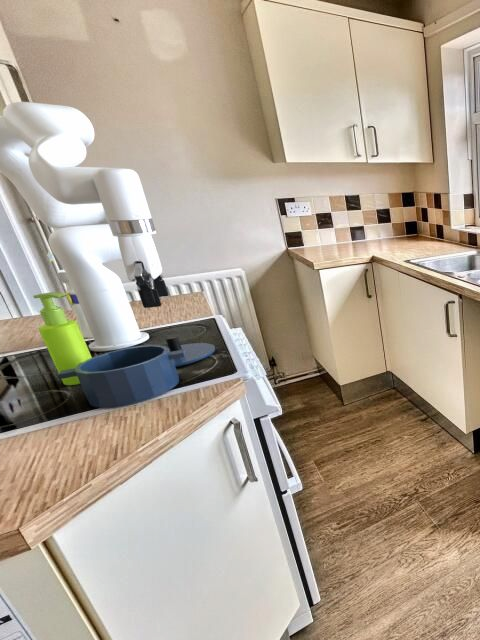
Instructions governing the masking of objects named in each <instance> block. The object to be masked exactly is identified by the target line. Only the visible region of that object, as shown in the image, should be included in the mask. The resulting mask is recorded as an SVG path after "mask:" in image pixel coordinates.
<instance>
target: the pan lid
mask: <svg viewBox="0 0 480 640" xmlns="http://www.w3.org/2000/svg"><path fill="white" fill-rule="evenodd" d="M165 341H166V345H167V348H169V350H170V352H173V351H179V350H185V351H186V355H185V357H182V358H176V359H173V362H174V365H175V367H176V368H178V367H181V366H185V365H189V364H192V363H195V362H198V361H200V360H203V359H206V358H208V357H209V356H211V355H212V354H213V353H215V351H216V347H215V345H214V344H212V343H209V342H208V343H207V342H193V343H186V344H181V342H180V339H179V336H178V335H171V336H167V337H165Z"/></svg>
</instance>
